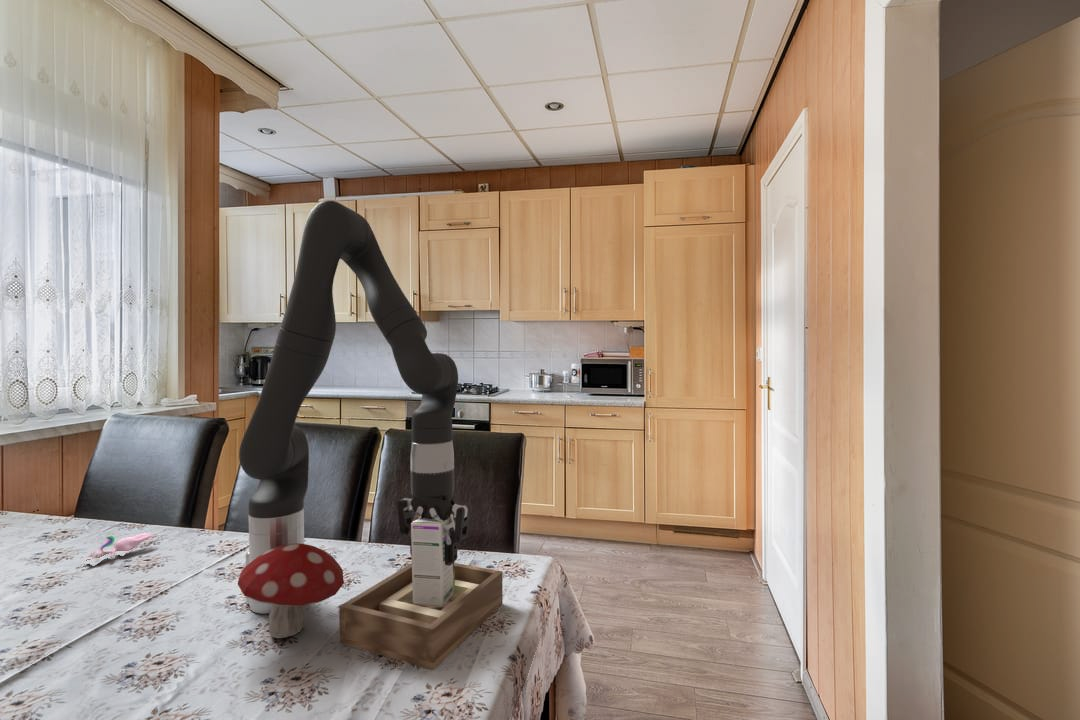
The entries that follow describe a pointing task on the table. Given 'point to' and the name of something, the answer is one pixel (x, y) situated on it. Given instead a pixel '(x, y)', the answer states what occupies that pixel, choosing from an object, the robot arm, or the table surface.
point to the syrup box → (430, 564)
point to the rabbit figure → (120, 544)
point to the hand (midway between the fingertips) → (433, 560)
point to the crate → (419, 616)
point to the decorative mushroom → (290, 583)
